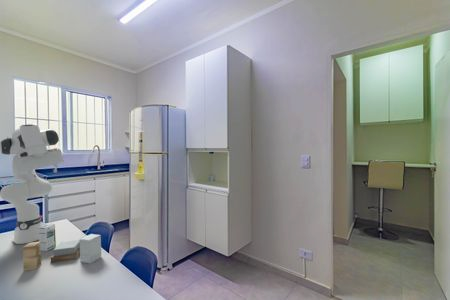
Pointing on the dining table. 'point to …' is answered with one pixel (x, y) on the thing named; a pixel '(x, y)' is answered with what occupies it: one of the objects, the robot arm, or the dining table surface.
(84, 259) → the supplement box
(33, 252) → the oak block
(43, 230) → the syrup box
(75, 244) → the tower top slab
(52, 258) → the tower base slab
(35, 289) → the dining table surface
